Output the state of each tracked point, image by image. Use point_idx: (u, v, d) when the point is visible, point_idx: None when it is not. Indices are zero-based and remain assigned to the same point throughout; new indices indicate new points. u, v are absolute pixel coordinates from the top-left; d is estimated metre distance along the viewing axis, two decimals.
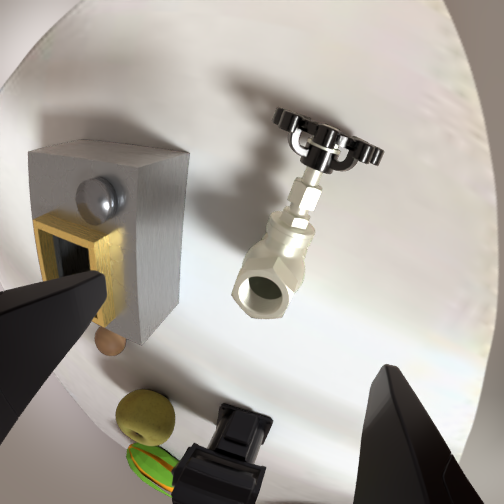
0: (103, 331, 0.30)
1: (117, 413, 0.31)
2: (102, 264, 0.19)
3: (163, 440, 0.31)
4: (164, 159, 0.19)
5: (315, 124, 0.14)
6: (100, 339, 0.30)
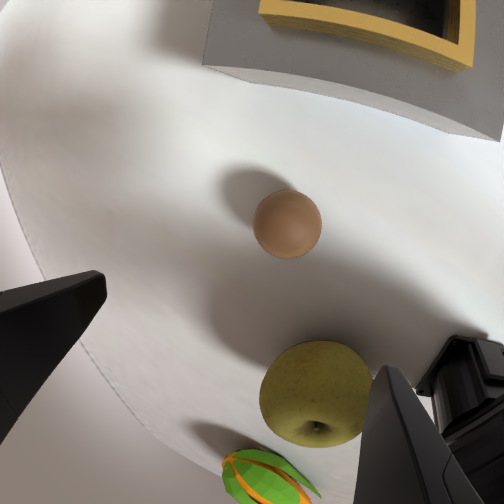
0: (287, 197, 0.16)
1: (279, 393, 0.17)
2: None
3: None
4: None
5: None
6: (283, 212, 0.15)
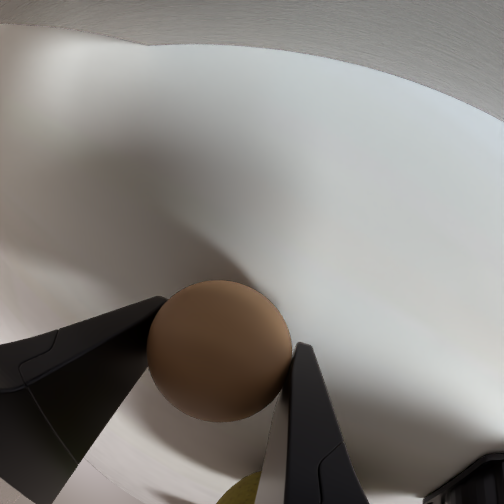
0: (205, 315, 0.06)
1: None
2: None
3: None
4: None
5: None
6: (190, 357, 0.06)
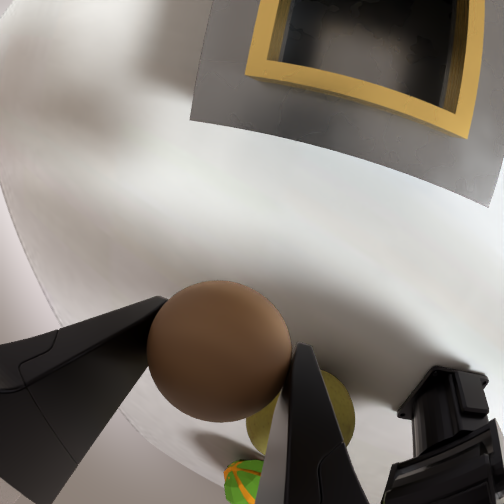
0: (205, 316, 0.06)
1: (263, 418, 0.18)
2: None
3: None
4: None
5: None
6: (189, 358, 0.06)
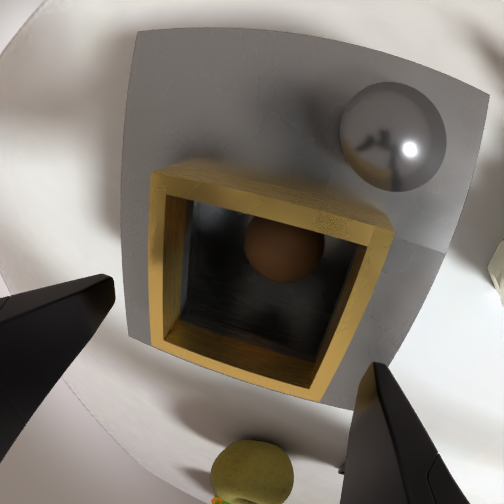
0: None
1: (219, 480, 0.21)
2: None
3: (283, 502, 0.21)
4: None
5: None
6: (285, 231, 0.13)
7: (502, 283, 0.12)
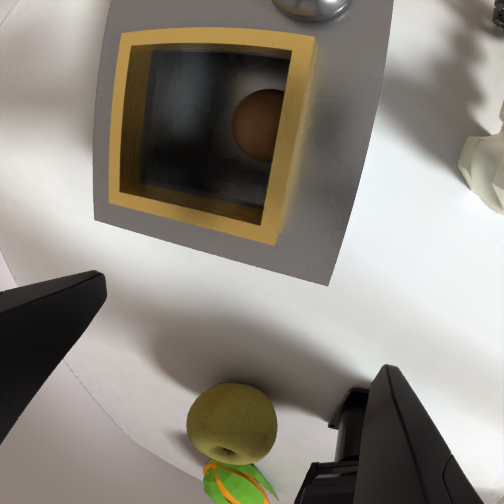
0: (282, 92, 0.13)
1: (194, 424, 0.22)
2: (306, 94, 0.09)
3: (266, 454, 0.22)
4: None
5: None
6: None
7: (471, 167, 0.12)
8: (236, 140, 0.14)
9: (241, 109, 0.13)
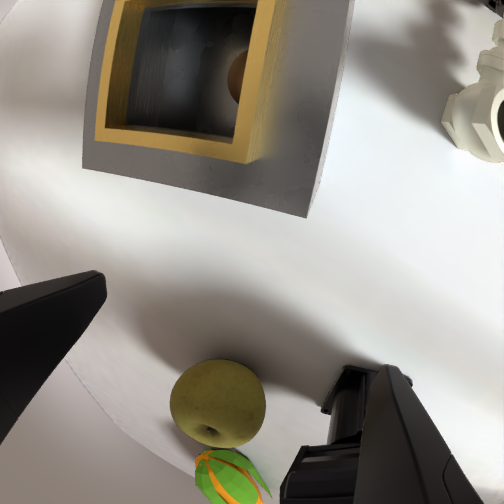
0: None
1: (176, 399, 0.21)
2: (275, 27, 0.09)
3: (252, 436, 0.21)
4: None
5: None
6: None
7: (452, 116, 0.12)
8: (237, 92, 0.13)
9: (245, 61, 0.12)
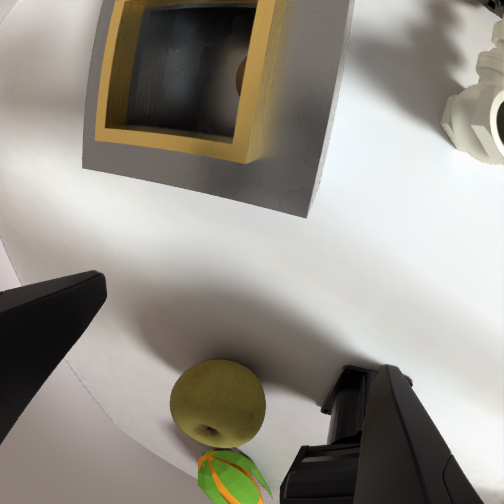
0: None
1: (176, 399, 0.21)
2: (275, 27, 0.09)
3: (252, 436, 0.21)
4: None
5: None
6: None
7: (451, 118, 0.12)
8: None
9: None
